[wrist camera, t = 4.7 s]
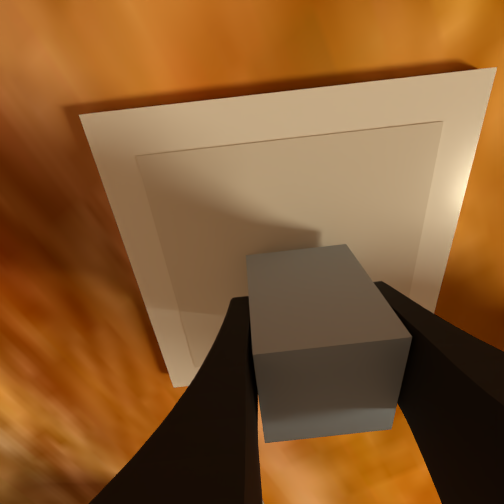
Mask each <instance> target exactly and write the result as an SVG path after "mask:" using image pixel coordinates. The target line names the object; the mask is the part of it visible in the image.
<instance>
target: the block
mask: <svg viewBox="0 0 504 504" xmlns="http://www.w3.org/2000/svg"><path fill="white" fill-rule="evenodd" d="M246 265H247V280H248V294H249V309H250V323H251V338H252V353H253V361H254V368H255V375H256V382H257V389H258V396H259V403H260V410H261V418H262V425H263V432H264V439H265V443H270V442H279V441H288V440H297V439H306V438H315V437H324V436H333V435H342V434H351V433H360V432H369V431H379V430H388V429H391V428H392V424H393V419H394V415H395V410H396V406H397V402H398V397H399V393H400V389H401V384H402V380H403V376H404V371H405V367H406V362H407V358H408V354H409V349H410V345H411V341H412V336H411V334H410V333H409V332H408V330H407V329H406V327H405V326H404V325H403V323H402V322H401V320H400V319H399V318H398V316H397V315H396V313H395V312H394V311H393V309H392V308H391V306H390V305H389V304H388V302H387V301H386V299H385V298H384V297H383V295H382V294H381V292H380V291H379V289H378V288H377V287H376V285H375V284H374V282H373V281H372V280H371V278H370V277H369V275H368V274H367V273H366V271H365V270H364V268H363V267H362V266H361V264H360V263H359V261H358V260H357V259H356V257H355V256H354V254H353V253H352V252H351V250H350V249H349V247H348V246H347V245H346V244H342V245H333V246H324V247H315V248H306V249H297V250H288V251H279V252H271V253H262V254H253V255H246Z"/></svg>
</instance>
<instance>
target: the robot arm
mask: <svg viewBox="0 0 504 504" xmlns="http://www.w3.org/2000/svg"><path fill="white" fill-rule="evenodd" d="M374 284H375V285H376V287H377V288H378V289H379V291H380V292H381V294H382V295H383V297H384V298H385V299H386V301H387V302H388V304H389V305H390V306H391V308H392V309H393V311H394V312H395V313H396V315H397V316H398V318H399V319H400V320H401V322H402V323H403V325H404V326H405V327H406V329H407V330H408V332H409V333H410V334H411V336H412V341H411V345H410V349H409V354H408V358H407V362H406V367H405V371H404V376H403V380H402V384H401V389H400V393H399V397H398V402H397V403H398V405H399V407H400V409H401V410H402V412H403V414H404V416H405V418H406V420H407V422H408V424H409V426H410V428H411V431H412V433H413V435H414V438H415V440H416V442H417V444H418V447H419V449H420V451H421V454H422V456H423V458H424V461H425V463H426V466H427V468H428V470H429V473H430V475H431V478H432V480H433V483H434V485H435V487H436V490H437V492H438V495H439V497H440V500H441V503H442V504H504V352H503V351H501V350H499V349H497V348H495V347H493V346H491V345H489V344H487V343H485V342H483V341H481V340H479V339H477V338H475V337H473V336H472V335H470V334H468V333H466V332H464V331H463V330H461V329H459V328H457V327H455V326H454V325H452V324H450V323H449V322H447V321H445V320H443V319H442V318H440V317H438V316H437V315H435V314H433V313H432V312H430V311H429V310H427V309H425V308H424V307H422V306H421V305H419V304H418V303H416V302H414V301H413V300H411V299H410V298H408V297H407V296H405V295H404V294H402V293H400V292H399V291H397V290H396V289H394V288H393V287H391V286H389V285H388V284H386V283H384V282H383V281H377V282H374ZM89 504H263V502H262V489H261V476H260V463H259V450H258V389H257V382H256V375H255V368H254V361H253V353H252V338H251V323H250V309H249V296H243V297H234V298H232V299H231V300H230V303H229V307H228V310H227V313H226V316H225V318H224V321H223V323H222V326H221V328H220V330H219V332H218V335H217V337H216V339H215V341H214V343H213V345H212V347H211V349H210V351H209V353H208V354H207V356H206V358H205V360H204V362H203V364H202V365H201V367H200V369H199V370H198V372H197V374H196V375H195V377H194V379H193V380H192V382H191V383H190V385H189V386H188V388H187V389H186V391H185V392H184V394H183V395H182V396H181V398H180V399H179V401H178V402H177V403H176V405H175V406H174V408H173V409H172V410H171V412H170V413H169V414H168V416H167V417H166V418H165V420H164V421H163V422H162V423H161V425H160V426H159V427H158V428H157V429H156V431H155V432H154V433H153V434H152V435H151V437H150V438H149V439H148V440H147V441H146V442H145V444H144V445H143V446H142V447H141V448H140V450H139V451H138V452H137V453H136V454H135V455H134V457H133V458H132V459H131V460H130V461H129V462H128V463H127V464H126V465H125V466H124V467H123V468H122V470H121V471H120V472H119V473H118V474H117V475H116V476H115V477H114V478H113V479H112V480H111V481H110V482H109V483H108V484H107V485H106V486H105V487H104V488H103V489H102V491H101V492H100V493H99V494H98V495H97V496H96V497H95V498H94V499H93V500H92V501H91V502H90V503H89Z"/></svg>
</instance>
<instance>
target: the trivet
mask: <svg viewBox="0 0 504 504" xmlns="http://www.w3.org/2000/svg"><path fill="white" fill-rule="evenodd" d="M496 69H497V67H494V68H483V69H473V70H465V71H456V72H447V73H438V74H429V75H421V76H412V77H403V78H394V79H385V80H377V81H368V82H359V83H350V84H341V85H333V86H324V87H315V88H306V89H297V90H289V91H280V92H271V93H262V94H253V95H245V96H236V97H227V98H218V99H209V100H201V101H192V102H183V103H174V104H165V105H157V106H148V107H139V108H130V109H121V110H113V111H104V112H95V113H87V114H81V115H79V117H80V120H81V123H82V125H83V128H84V131H85V134H86V137H87V140H88V143H89V146H90V148H91V151H92V154H93V157H94V160H95V163H96V166H97V169H98V171H99V174H100V177H101V180H102V183H103V186H104V189H105V191H106V194H107V197H108V200H109V203H110V206H111V209H112V212H113V214H114V217H115V220H116V223H117V226H118V229H119V232H120V235H121V237H122V240H123V243H124V246H125V249H126V252H127V255H128V258H129V260H130V263H131V266H132V269H133V272H134V275H135V278H136V280H137V283H138V286H139V289H140V292H141V295H142V298H143V301H144V303H145V306H146V309H147V312H148V315H149V318H150V321H151V324H152V326H153V329H154V332H155V335H156V338H157V341H158V344H159V347H160V349H161V352H162V355H163V358H164V361H165V364H166V367H167V369H168V372H169V375H170V378H171V381H172V384H173V387H183V386H189V385H190V383H191V382H192V380H193V379H194V377H195V375H196V374H197V372H198V370H199V369H200V367H201V365H202V364H203V362H204V360H205V358H206V356H207V354H208V353H209V351H210V349H211V347H212V345H213V343H214V341H215V339H216V337H217V335H218V332H219V330H220V328H221V326H222V323H223V321H224V318H225V316H226V313H227V310H228V307H229V303H230V300H231V299H232V298H234V297H243V296H249V294H248V280H247V265H246V255H253V254H262V253H271V252H279V251H288V250H297V249H306V248H315V247H324V246H333V245H342V244H346V245H347V246H348V247H349V249H350V250H351V252H352V253H353V254H354V256H355V257H356V259H357V260H358V261H359V263H360V264H361V266H362V267H363V268H364V270H365V271H366V273H367V274H368V275H369V277H370V278H371V280H372V281H373V282H377V281H383V282H384V283H386V284H388V285H389V286H391V287H393V288H394V289H396V290H397V291H399V292H400V293H402V294H404V295H405V296H407V297H408V298H410V299H411V300H413V301H414V302H416V303H418V304H419V305H421V306H422V307H424V308H425V309H427V310H429V311H430V312H432V313H433V314H434V311H435V308H436V304H437V300H438V296H439V292H440V288H441V284H442V280H443V276H444V272H445V268H446V265H447V261H448V257H449V253H450V249H451V245H452V241H453V237H454V233H455V229H456V226H457V222H458V218H459V214H460V210H461V206H462V202H463V198H464V194H465V190H466V186H467V183H468V179H469V175H470V171H471V167H472V163H473V159H474V155H475V151H476V147H477V143H478V140H479V136H480V132H481V128H482V124H483V120H484V116H485V112H486V108H487V104H488V101H489V97H490V93H491V89H492V85H493V81H494V77H495V73H496Z"/></svg>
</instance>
